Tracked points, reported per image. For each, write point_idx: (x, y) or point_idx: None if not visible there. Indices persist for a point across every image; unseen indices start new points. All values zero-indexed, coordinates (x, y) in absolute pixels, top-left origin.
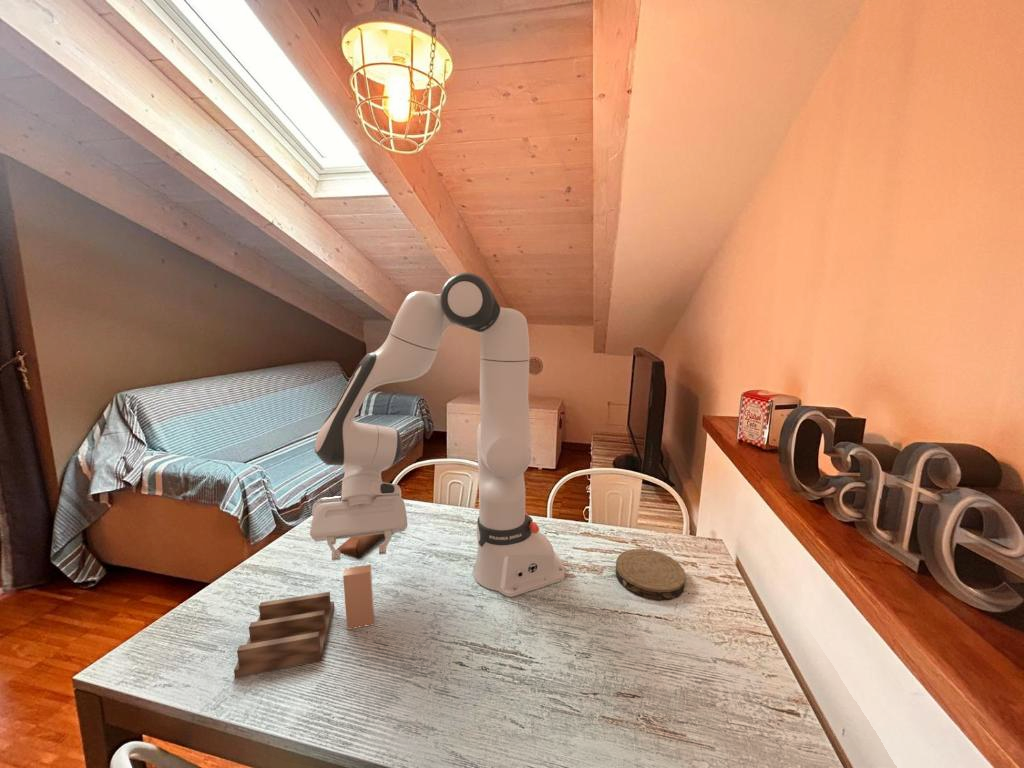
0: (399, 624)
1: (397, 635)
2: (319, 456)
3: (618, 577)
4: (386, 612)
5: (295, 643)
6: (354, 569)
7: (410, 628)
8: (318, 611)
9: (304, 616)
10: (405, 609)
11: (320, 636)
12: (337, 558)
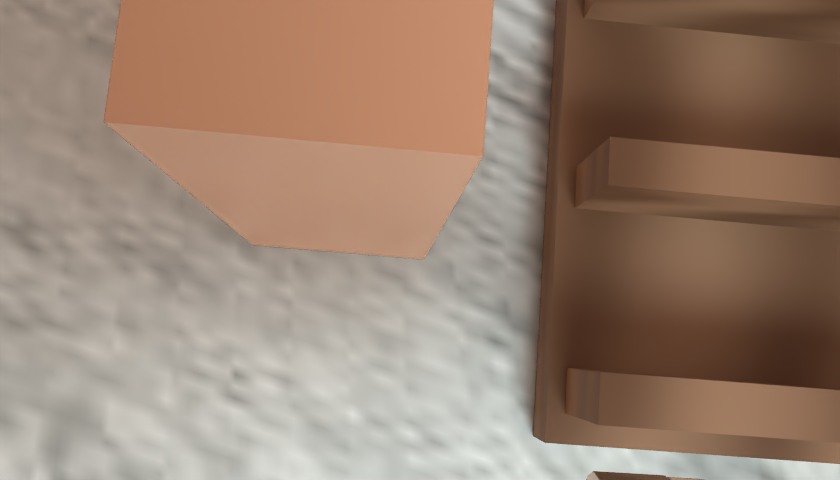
0: (88, 108)
1: (113, 17)
2: None
3: None
4: (163, 256)
5: None
6: (345, 85)
7: (21, 48)
8: (654, 189)
9: (751, 163)
10: (25, 242)
11: (593, 97)
12: (615, 474)
